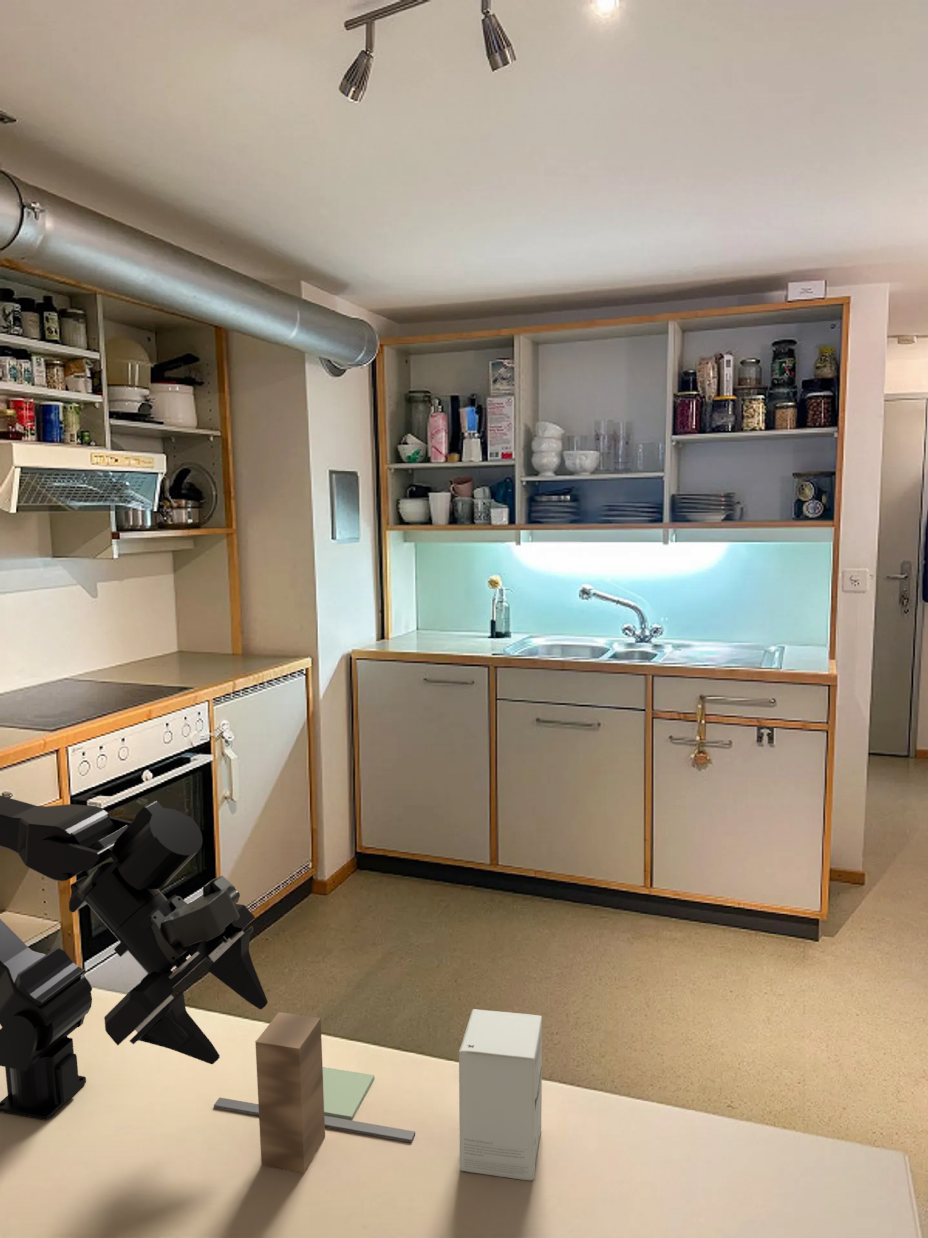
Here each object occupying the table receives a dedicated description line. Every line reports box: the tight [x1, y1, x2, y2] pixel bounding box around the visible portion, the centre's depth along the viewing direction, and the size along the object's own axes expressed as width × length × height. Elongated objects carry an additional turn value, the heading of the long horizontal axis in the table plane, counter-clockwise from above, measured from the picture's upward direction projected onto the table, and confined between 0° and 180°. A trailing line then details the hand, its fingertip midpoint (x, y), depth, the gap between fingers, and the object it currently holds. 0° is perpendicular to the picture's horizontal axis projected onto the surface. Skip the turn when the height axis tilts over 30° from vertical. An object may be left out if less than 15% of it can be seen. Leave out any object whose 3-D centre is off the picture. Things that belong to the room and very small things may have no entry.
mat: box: [322, 1066, 375, 1121], centre depth 96 cm, size 10×7×1 cm
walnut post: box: [255, 1011, 326, 1175], centre depth 87 cm, size 4×5×13 cm
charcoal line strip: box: [213, 1097, 416, 1143], centre depth 92 cm, size 22×1×1 cm, turn 76°
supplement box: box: [458, 1008, 543, 1181], centre depth 87 cm, size 7×7×13 cm
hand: (241, 1032), depth 88 cm, fingers open, 9 cm apart
